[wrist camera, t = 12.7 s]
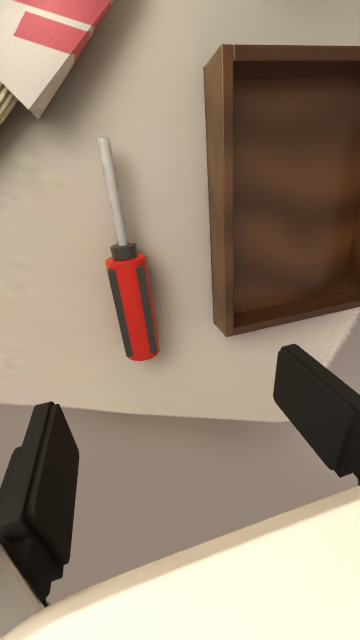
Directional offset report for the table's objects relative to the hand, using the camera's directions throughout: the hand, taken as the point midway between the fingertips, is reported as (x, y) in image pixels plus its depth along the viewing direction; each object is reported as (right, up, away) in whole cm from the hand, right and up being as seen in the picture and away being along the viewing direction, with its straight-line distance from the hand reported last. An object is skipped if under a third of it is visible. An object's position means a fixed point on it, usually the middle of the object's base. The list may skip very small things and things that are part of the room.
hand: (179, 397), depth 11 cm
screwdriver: (-5, +9, +12) cm, 15 cm away
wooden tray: (+11, +14, +14) cm, 22 cm away
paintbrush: (-11, +18, +6) cm, 21 cm away
